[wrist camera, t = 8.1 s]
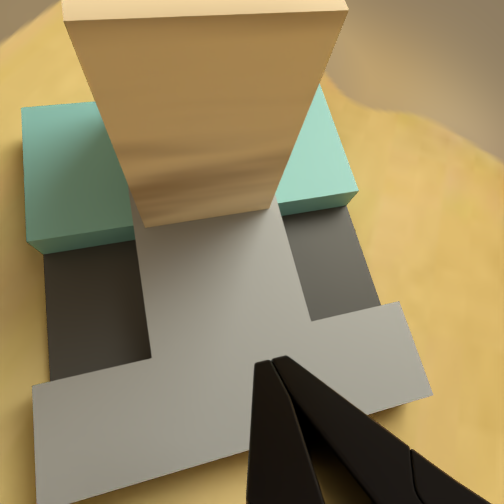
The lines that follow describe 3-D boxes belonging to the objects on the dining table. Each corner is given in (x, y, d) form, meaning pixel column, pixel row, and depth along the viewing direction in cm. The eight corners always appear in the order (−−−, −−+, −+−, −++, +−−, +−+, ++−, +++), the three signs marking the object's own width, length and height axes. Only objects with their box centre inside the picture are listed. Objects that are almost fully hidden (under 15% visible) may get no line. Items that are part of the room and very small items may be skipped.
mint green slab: (344, 207, 20) (358, 190, 18) (45, 256, 17) (26, 241, 15) (309, 107, 22) (319, 82, 20) (39, 133, 19) (21, 107, 17)
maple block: (269, 208, 17) (348, 10, 8) (145, 227, 16) (63, 21, 7) (238, 96, 19) (272, -168, 10) (126, 106, 18) (44, -184, 9)
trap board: (408, 392, 17) (433, 395, 15) (59, 494, 14) (37, 513, 12) (309, 107, 22) (319, 83, 20) (39, 133, 19) (21, 107, 17)
